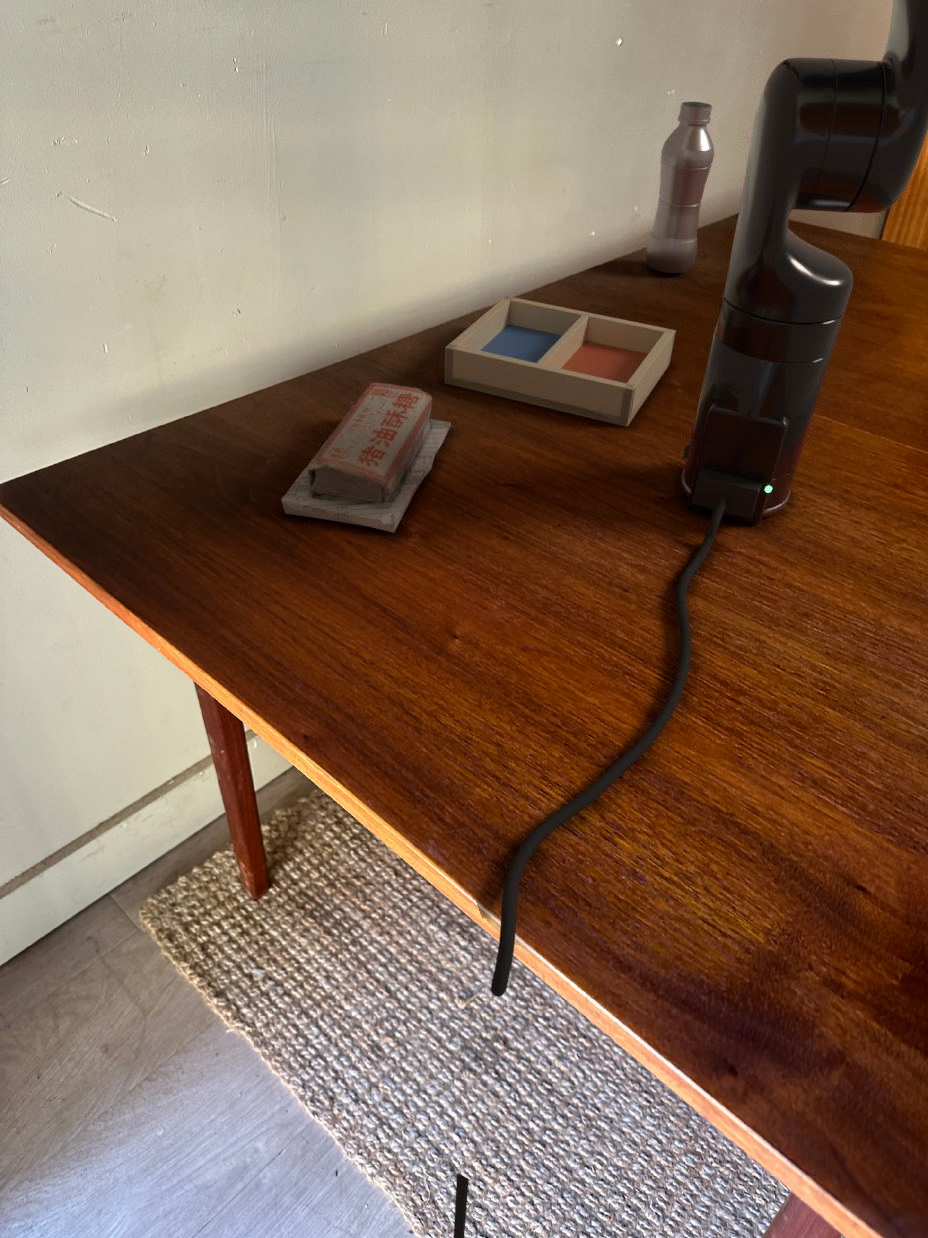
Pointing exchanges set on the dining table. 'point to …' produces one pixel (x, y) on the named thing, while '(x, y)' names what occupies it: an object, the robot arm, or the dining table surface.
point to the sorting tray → (561, 359)
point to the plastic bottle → (681, 190)
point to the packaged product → (371, 460)
